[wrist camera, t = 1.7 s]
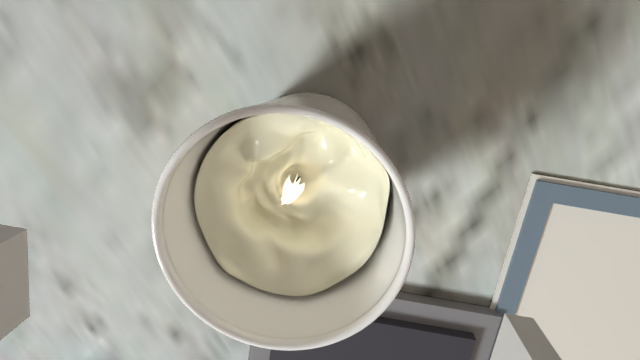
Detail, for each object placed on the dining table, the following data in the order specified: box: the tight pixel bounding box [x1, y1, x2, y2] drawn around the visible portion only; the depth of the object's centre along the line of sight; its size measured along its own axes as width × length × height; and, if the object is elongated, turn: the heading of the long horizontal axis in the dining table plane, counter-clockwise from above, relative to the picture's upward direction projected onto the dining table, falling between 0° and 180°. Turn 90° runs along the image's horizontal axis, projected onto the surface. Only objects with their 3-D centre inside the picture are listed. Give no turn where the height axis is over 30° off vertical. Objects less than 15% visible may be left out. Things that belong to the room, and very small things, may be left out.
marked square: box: [488, 173, 640, 360], centre depth 30 cm, size 19×19×1 cm
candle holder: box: [151, 93, 415, 351], centre depth 22 cm, size 10×10×12 cm
